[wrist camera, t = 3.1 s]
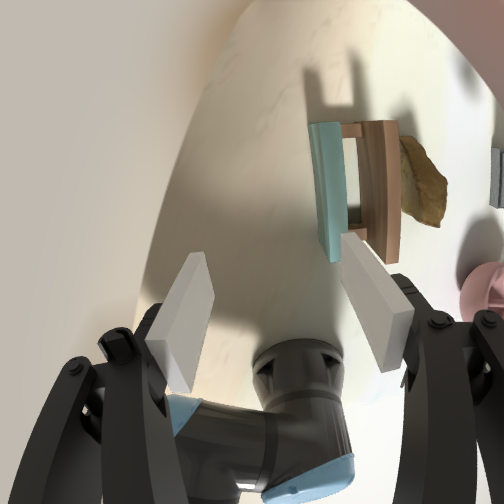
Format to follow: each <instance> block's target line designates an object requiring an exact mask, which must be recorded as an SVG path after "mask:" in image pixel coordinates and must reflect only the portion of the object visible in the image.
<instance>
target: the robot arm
mask: <svg viewBox="0 0 504 504" xmlns="http://www.w3.org/2000/svg"><path fill="white" fill-rule="evenodd" d="M341 282H342V284H343V286H344V289H345V291H346V293H347V295H348V297H349V299H350V301H351V304H352V306H353V308H354V310H355V312H356V315H357V317H358V319H359V321H360V324H361V326H362V328H363V331H364V333H365V335H366V338H367V340H368V342H369V345H370V347H371V349H372V352H373V354H374V357H375V359H376V362H377V364H378V367H379V369H380V372H381V373H383V372H387V371H391V370H395V369H399V368H400V366H401V362H402V359H403V358H404V360H405V362H406V365H407V368H406V371H405V374H404V377H403V380H402V382H401V386H400V388H403V386H404V383H405V398H404V421H403V435H402V446H401V455H400V463H399V470H398V477H397V483H396V488H395V493H394V499H393V503H392V504H475V503H476V490H477V443H478V446H479V449H480V453H481V457H482V460H483V464H484V468H485V472H486V477H487V481H488V486H489V492H490V497H491V503H492V504H504V320H503V319H502V317H501V316H500V315H499V314H498V313H496V312H494V311H492V310H487V309H484V310H479V311H477V312H476V313H475V315H474V317H473V320H472V322H455V321H454V319H453V317H451V316H450V315H449V314H448V313H445V312H443V311H438V310H434V309H433V308H432V307H431V305H430V304H429V303H428V302H427V300H426V299H425V298H424V297H423V295H422V294H421V293H420V292H419V290H418V289H417V288H416V287H414V284H413V283H412V282H411V281H410V280H409V278H407V277H405V276H403V275H402V274H400V273H398V274H393V275H389V274H388V272H387V271H386V270H385V268H384V267H383V266H382V265H381V263H380V262H379V261H378V260H377V258H376V257H375V256H374V255H373V253H372V252H371V251H370V250H369V249H368V247H367V246H366V245H365V244H364V242H363V241H362V240H361V239H360V238H359V237H358V235H357V234H356V233H355V232H352V233H344V234H341ZM214 299H215V294H214V290H213V286H212V282H211V278H210V274H209V270H208V266H207V262H206V258H205V254H204V251H201V252H194V253H189V255H188V257H187V259H186V261H185V262H184V264H183V266H182V268H181V270H180V272H179V274H178V275H177V277H176V279H175V281H174V283H173V285H172V287H171V289H170V291H169V292H168V294H167V296H166V298H165V300H164V302H163V303H156V304H154V305H153V306H152V307H150V308H149V309H148V310H147V311H146V313H145V315H144V317H143V320H141V322H140V324H139V326H138V328H137V329H136V331H135V333H134V335H133V333H132V331H131V330H130V329H128V328H124V327H119V328H114V329H112V330H109V331H108V332H106V333H105V334H104V335H103V336H102V337H101V338H100V339H99V341H98V346H99V347H100V349H101V351H102V352H103V354H104V356H105V357H106V359H107V361H108V362H107V363H102V364H97V365H92V364H91V362H90V361H89V359H88V358H86V357H83V356H80V357H75V358H72V359H70V360H69V361H68V362H67V363H66V364H65V365H64V367H63V368H62V370H61V372H60V374H59V376H58V378H57V380H56V381H55V383H54V385H53V387H52V389H51V391H50V394H49V395H48V398H47V400H46V402H45V404H44V406H43V408H42V410H41V413H40V415H39V417H38V419H37V422H36V424H35V426H34V428H33V431H32V433H31V436H30V438H29V441H28V443H27V446H26V449H25V451H24V454H23V456H22V459H21V462H20V465H19V468H18V471H17V474H16V477H15V480H14V483H13V487H12V490H11V494H10V497H9V501H8V504H101V499H102V493H103V504H238V503H239V499H240V494H241V492H257V493H261V499H262V500H263V503H265V504H300V503H305V502H310V501H314V500H317V499H321V498H324V497H327V496H329V495H333V494H335V493H337V492H339V491H341V490H343V489H345V488H346V487H348V486H349V485H350V484H351V483H352V481H353V479H354V477H355V471H354V459H353V458H354V454H353V453H352V449H351V444H350V439H349V434H348V430H347V425H346V421H345V416H344V412H343V408H342V403H341V393H342V387H343V380H344V365H343V361H342V358H341V355H340V353H339V352H338V351H337V350H336V349H335V348H334V347H333V346H331V345H330V344H328V343H325V342H323V341H319V340H313V339H296V340H290V341H286V342H283V343H280V344H277V345H275V346H273V347H271V348H269V349H268V350H266V351H265V352H264V353H263V354H261V355H260V356H259V358H258V359H257V360H256V362H255V364H254V368H253V385H254V388H255V391H256V393H257V395H258V398H259V400H260V403H261V405H262V408H263V411H258V410H252V409H246V408H240V407H235V406H229V405H224V404H219V403H215V402H210V401H206V400H203V399H202V398H198V399H196V398H191V397H186V396H181V395H176V394H171V395H168V396H166V394H165V393H164V392H165V389H166V386H167V384H168V386H169V388H170V390H171V391H172V393H191V392H192V388H193V384H194V380H195V375H196V371H197V367H198V363H199V359H200V355H201V351H202V347H203V343H204V338H205V334H206V330H207V327H208V323H209V319H210V315H211V311H212V307H213V303H214ZM487 363H488V365H489V367H490V371H488V370H487V368H486V364H487ZM84 406H85V407H86V408H87V409H88V410H87V413H86V414H84V413H83V412H82V410H83V407H84ZM476 439H477V440H476Z"/></svg>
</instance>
